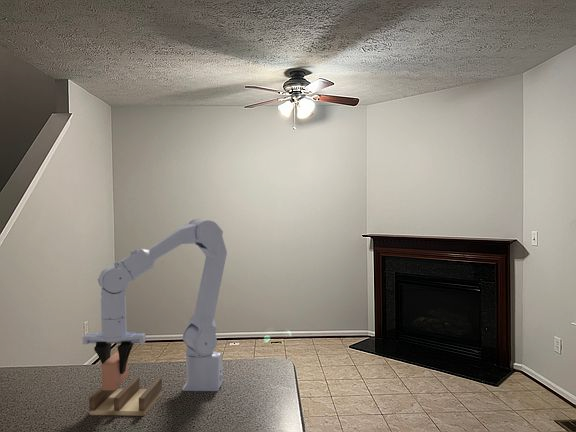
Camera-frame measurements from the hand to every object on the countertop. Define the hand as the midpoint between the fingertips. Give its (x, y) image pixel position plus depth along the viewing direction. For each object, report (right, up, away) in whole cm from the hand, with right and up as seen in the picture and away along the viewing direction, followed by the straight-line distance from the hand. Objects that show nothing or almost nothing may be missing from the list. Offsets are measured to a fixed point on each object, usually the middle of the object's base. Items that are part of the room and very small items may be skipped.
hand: (115, 372), depth 118 cm
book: (0, -3, 0) cm, 3 cm away
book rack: (+3, -8, 0) cm, 8 cm away
